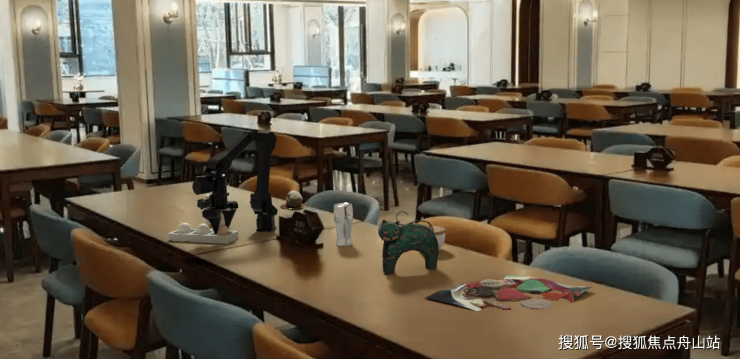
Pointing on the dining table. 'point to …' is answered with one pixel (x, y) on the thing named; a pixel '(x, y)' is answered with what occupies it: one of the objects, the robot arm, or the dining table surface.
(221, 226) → the brown egg
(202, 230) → the carton
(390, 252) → the ceramic cat
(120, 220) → the dining table surface
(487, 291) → the platter
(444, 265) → the dining table surface
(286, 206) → the skull
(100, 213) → the dining table surface
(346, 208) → the beer glass
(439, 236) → the lidded jar
